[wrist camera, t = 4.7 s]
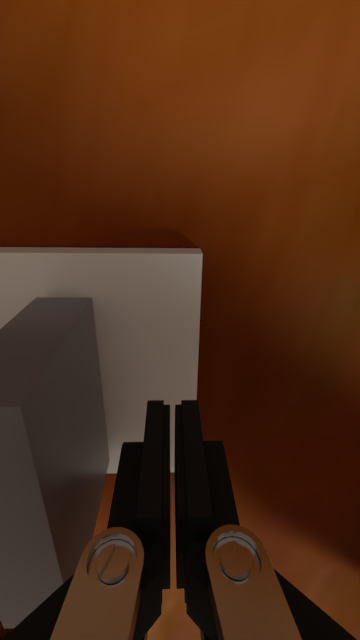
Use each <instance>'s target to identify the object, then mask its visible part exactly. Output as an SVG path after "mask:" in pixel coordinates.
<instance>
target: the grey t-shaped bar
mask: <svg viewBox="0 0 360 640" xmlns="http://www.w3.org/2000/svg"><path fill="white" fill-rule="evenodd" d="M108 464H109V450H108V441H107V432H106V422H105V413H104V404H103V394H102V385H101V376H100V367H99V357H98V348H97V339H96V329H95V320H94V311H93V301H92V298H41V297H36V298H35V299H34V300H33V301H32V302H30V303H29V304H28V305H27V306H26V307H25V308H24V309H22V310H21V311H20V312H19V313H18V314H17V315H16V316H15V317H13V318H12V319H11V320H10V321H9V322H8V323H7V324H6V325H4V326H3V327H2V328H1V329H0V621H1V623H2V625H3V628H4V629H8V628H15V627H16V626H17V625H18V624H19V623H20V622H22V621H23V620H24V619H25V618H26V617H27V616H28V615H29V614H30V613H31V612H32V611H34V610H35V609H36V608H37V607H38V606H39V605H40V604H41V603H42V602H43V601H45V600H46V599H47V598H48V597H49V596H50V595H51V594H52V593H53V592H54V591H56V590H57V589H58V588H59V587H60V586H61V585H62V584H63V583H64V582H65V581H67V580H68V579H69V578H70V577H71V576H72V575H73V574H74V573H75V571H76V568H77V566H78V563H79V560H80V557H81V555H82V553H83V551H84V549H85V547H86V545H87V544H88V543H89V541H90V540H91V539H92V538H93V534H94V529H95V525H96V520H97V515H98V511H99V506H100V501H101V497H102V492H103V487H104V483H105V478H106V473H107V469H108Z"/></svg>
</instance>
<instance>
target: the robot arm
mask: <svg viewBox="0 0 360 640" xmlns="http://www.w3.org/2000/svg"><path fill="white" fill-rule="evenodd" d="M174 466H175V524H176V578H177V589H180V588H184V590H185V603H186V604H187V614H188V615H189V617H190V618H191V619H192V620H193V621H194V622H195V624H196V625H197V626H198V627H199V628H200V635H201V640H356V639H355V638H354V637H353V636H352V635H351V634H349V633H348V632H347V631H346V630H345V629H344V628H342V627H341V626H340V625H339V624H338V623H337V622H335V621H334V620H333V619H332V618H331V617H330V616H328V615H327V614H326V613H325V612H324V611H322V610H321V609H320V608H319V607H318V606H317V605H315V604H314V603H313V602H312V601H311V600H310V599H308V598H307V597H306V596H305V595H304V594H303V593H301V592H300V591H299V590H298V589H297V588H296V587H294V586H293V585H292V584H291V583H290V582H288V581H287V580H286V579H285V578H284V577H283V576H281V575H280V574H279V573H278V572H277V571H276V570H274V568H273V566H272V563H271V561H270V558H269V556H268V553H267V551H266V549H265V547H264V545H263V543H262V542H261V540H260V539H259V538H258V537H257V536H256V535H255V534H254V533H253V532H252V531H250V530H249V529H247V528H245V527H242V526H240V524H239V520H238V515H237V510H236V505H235V500H234V495H233V490H232V485H231V480H230V475H229V470H228V465H227V461H226V456H225V451H224V446H223V443H222V441H203V438H202V431H201V423H200V415H199V407H198V401H197V400H181V405H175V463H174ZM162 589H170V405H164V400H148V401H147V410H146V421H145V431H144V441H143V442H123V444H122V448H121V454H120V459H119V465H118V471H117V476H116V482H115V487H114V493H113V499H112V504H111V510H110V516H109V521H108V527H107V529H106V530H103V531H101V532H100V533H98V534H97V535H95V536H94V537H93V538H92V539H91V540H90V541H89V543H88V544H87V545H86V547H85V549H84V551H83V553H82V555H81V557H80V560H79V563H78V566H77V568H76V571H75V573H74V574H73V575H72V576H71V577H70V578H69V579H68V580H67V581H65V582H64V583H63V584H62V585H61V586H60V587H59V588H58V589H57V590H56V591H54V592H53V593H52V594H51V595H50V596H49V597H48V598H47V599H46V600H45V601H43V602H42V603H41V604H40V605H39V606H38V607H37V608H36V609H35V610H34V611H32V612H31V613H30V614H29V615H28V616H27V617H26V618H25V619H24V620H23V621H22V622H20V623H19V624H18V625H17V626H16V627H15V628H14V629H13V630H12V631H11V632H9V633H8V634H7V635H6V636H5V637H4V638H3V639H2V640H147V634H148V630H149V629H150V628H151V627H152V625H153V624H154V623H155V621H156V620H157V619H158V618H159V616H160V615H161V603H162Z"/></svg>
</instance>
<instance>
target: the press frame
mask: <svg viewBox="0 0 360 640" xmlns="http://www.w3.org/2000/svg"><path fill="white" fill-rule="evenodd" d="M202 258H203V254H202V251H201V249H200V248H72V247H0V329H1V328H2V327H3V326H4V325H6V324H7V323H8V322H9V321H10V320H11V319H12V318H13V317H15V316H16V315H17V314H18V313H19V312H20V311H21V310H22V309H24V308H25V307H26V306H27V305H28V304H29V303H30V302H32V301H33V300H34V299H35V298H36V297H41V298H92V301H93V311H94V320H95V329H96V339H97V348H98V357H99V367H100V376H101V385H102V394H103V404H104V413H105V422H106V432H107V441H108V450H109V464H108V469H107V473H117V471H118V465H119V459H120V454H121V448H122V444H123V442H143V441H144V431H145V421H146V410H147V401H148V400H164V405H170V472H175V466H174V463H175V405H181V400H197V378H198V354H199V330H200V306H201V282H202Z"/></svg>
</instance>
